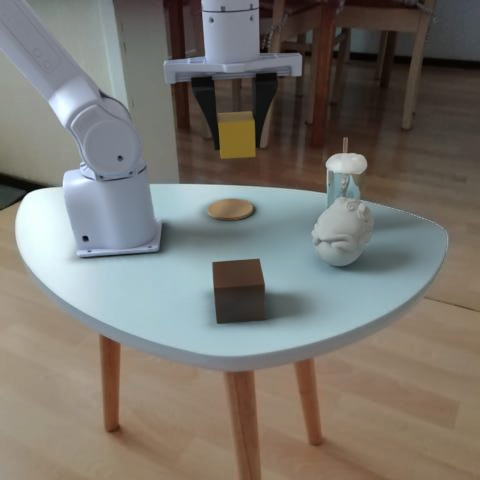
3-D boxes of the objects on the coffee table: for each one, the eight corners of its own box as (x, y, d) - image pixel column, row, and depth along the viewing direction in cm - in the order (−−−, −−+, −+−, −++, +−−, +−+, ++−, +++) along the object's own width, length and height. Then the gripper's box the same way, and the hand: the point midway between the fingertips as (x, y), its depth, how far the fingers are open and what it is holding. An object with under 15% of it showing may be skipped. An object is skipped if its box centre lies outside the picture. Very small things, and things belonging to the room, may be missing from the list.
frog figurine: (381, 259, 54) (390, 199, 49) (342, 285, 50) (348, 222, 46) (336, 241, 57) (341, 184, 53) (297, 264, 54) (299, 204, 49)
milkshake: (357, 218, 62) (366, 137, 56) (361, 238, 58) (371, 153, 52) (320, 217, 62) (325, 137, 56) (322, 237, 58) (327, 153, 52)
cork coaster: (208, 222, 63) (208, 219, 63) (207, 202, 68) (207, 200, 67) (254, 218, 63) (254, 216, 63) (250, 199, 68) (250, 197, 68)
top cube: (220, 159, 56) (218, 122, 54) (219, 147, 59) (217, 113, 57) (255, 156, 56) (254, 120, 54) (252, 145, 59) (251, 111, 57)
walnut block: (216, 323, 46) (213, 287, 43) (215, 295, 50) (212, 261, 47) (265, 319, 46) (265, 284, 44) (260, 292, 50) (259, 258, 47)
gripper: (154, 17, 46) (173, 161, 54) (309, 9, 46) (303, 153, 54) (159, 10, 51) (175, 141, 60) (297, 2, 52) (294, 134, 60)
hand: (236, 146), depth 57 cm, fingers closed on top cube, 4 cm apart
